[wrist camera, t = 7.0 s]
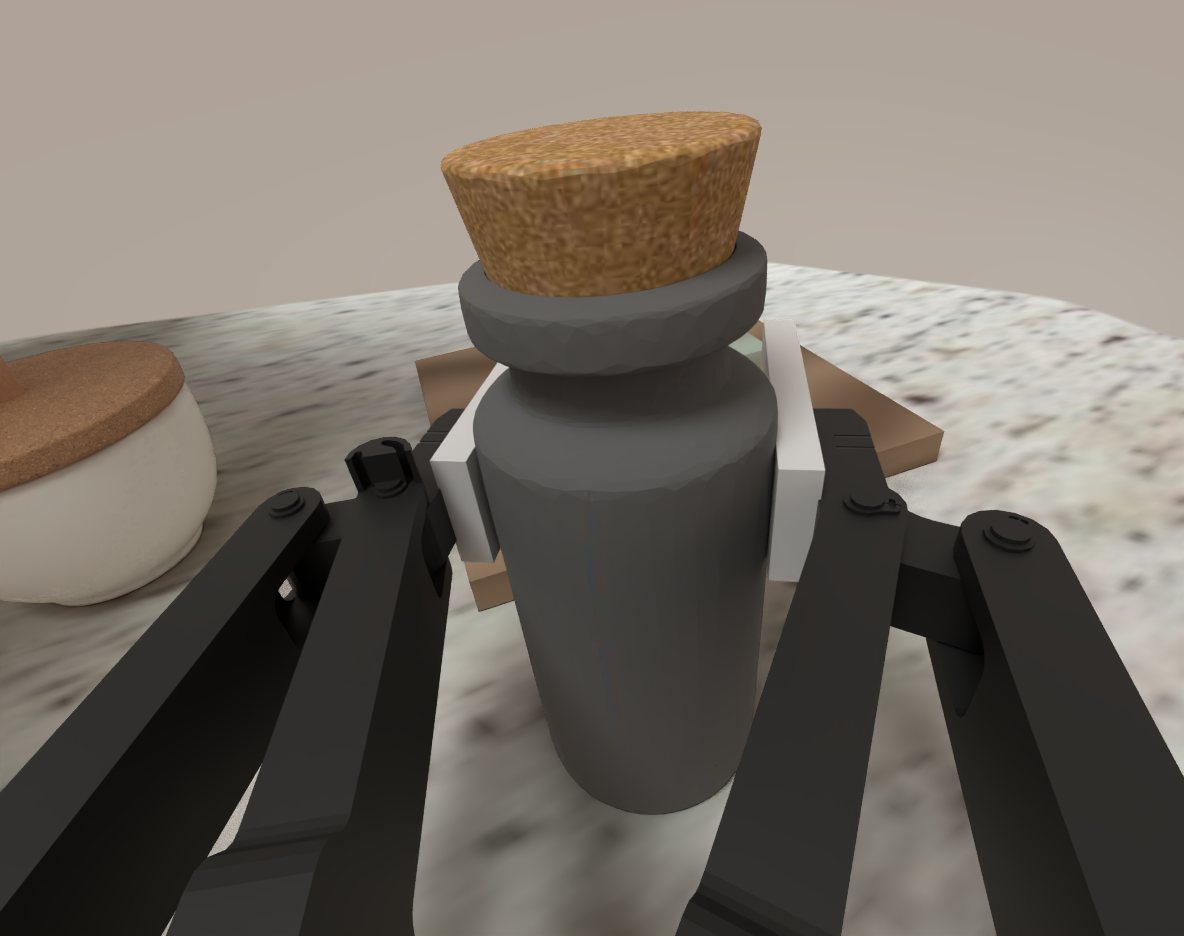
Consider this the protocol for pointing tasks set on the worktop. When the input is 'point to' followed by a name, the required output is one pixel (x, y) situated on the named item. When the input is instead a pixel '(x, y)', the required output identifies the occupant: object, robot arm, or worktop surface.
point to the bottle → (626, 435)
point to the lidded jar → (98, 472)
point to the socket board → (890, 424)
